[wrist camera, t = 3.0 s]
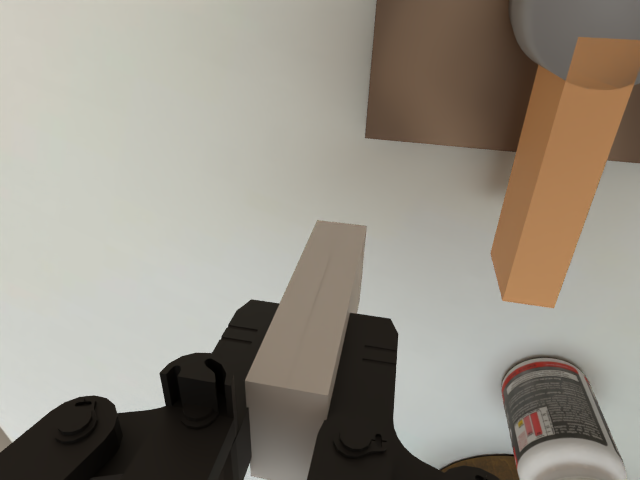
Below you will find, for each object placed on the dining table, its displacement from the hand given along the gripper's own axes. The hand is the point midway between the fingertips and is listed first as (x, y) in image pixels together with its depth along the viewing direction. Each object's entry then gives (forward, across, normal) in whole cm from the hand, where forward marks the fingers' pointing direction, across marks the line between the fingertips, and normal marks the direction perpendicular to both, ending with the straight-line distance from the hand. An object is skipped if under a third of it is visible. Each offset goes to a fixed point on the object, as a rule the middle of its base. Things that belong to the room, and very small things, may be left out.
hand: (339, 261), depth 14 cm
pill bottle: (+14, -14, +17) cm, 26 cm away
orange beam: (+8, -7, -3) cm, 12 cm away
